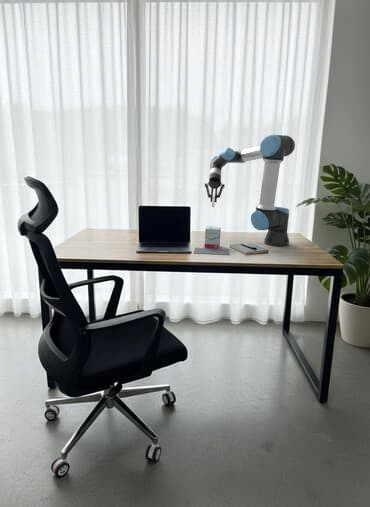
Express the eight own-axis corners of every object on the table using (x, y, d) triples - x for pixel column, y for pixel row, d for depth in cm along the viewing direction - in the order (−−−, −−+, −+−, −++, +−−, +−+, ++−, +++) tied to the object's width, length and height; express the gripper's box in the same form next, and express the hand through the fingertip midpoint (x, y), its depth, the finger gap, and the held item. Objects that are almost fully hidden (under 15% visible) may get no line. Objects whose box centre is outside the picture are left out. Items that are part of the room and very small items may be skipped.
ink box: (218, 249, 216) (219, 229, 213) (204, 248, 217) (204, 228, 214) (220, 245, 224) (221, 226, 221) (206, 244, 225) (206, 225, 222)
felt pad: (229, 249, 215) (229, 249, 215) (229, 255, 203) (229, 254, 203) (195, 248, 217) (195, 247, 217) (193, 253, 205) (193, 252, 205)
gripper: (225, 180, 241) (223, 209, 230) (205, 180, 243) (202, 209, 231) (225, 172, 235) (223, 202, 223) (205, 172, 236) (202, 201, 225)
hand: (213, 205), depth 227 cm, fingers closed
